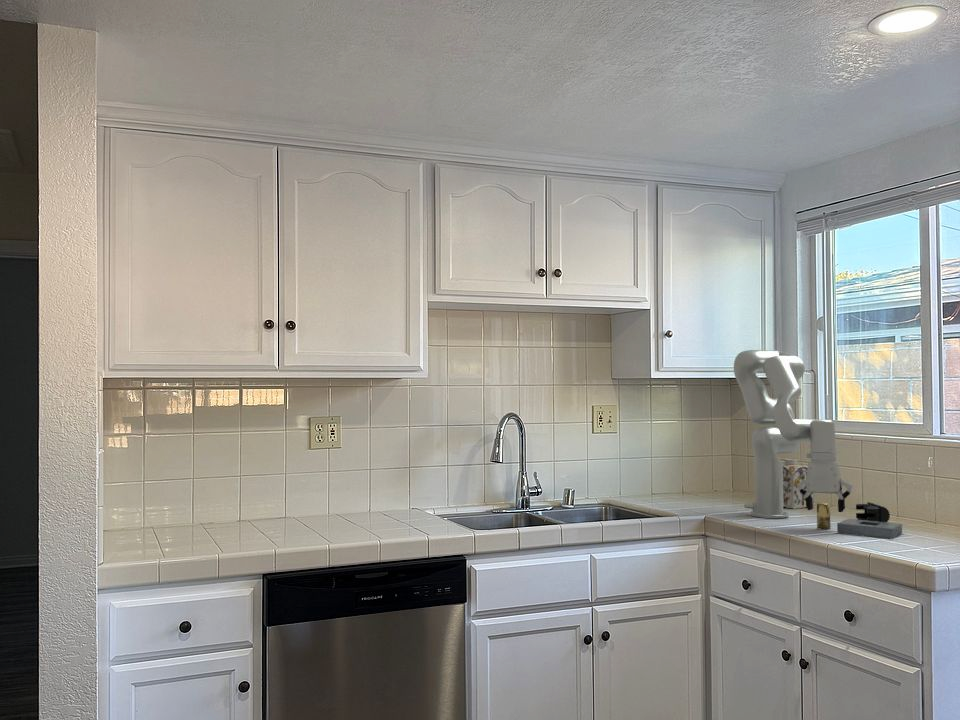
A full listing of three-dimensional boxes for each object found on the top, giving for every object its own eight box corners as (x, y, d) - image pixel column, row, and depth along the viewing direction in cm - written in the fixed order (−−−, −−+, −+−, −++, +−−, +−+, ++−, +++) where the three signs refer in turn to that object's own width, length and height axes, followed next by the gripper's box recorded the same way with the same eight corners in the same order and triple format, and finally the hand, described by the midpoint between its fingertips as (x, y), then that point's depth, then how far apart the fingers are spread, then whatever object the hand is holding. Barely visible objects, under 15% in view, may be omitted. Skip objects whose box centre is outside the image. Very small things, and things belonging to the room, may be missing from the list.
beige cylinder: (815, 528, 272) (815, 503, 272) (819, 526, 275) (819, 502, 276) (828, 529, 270) (827, 504, 270) (832, 528, 273) (831, 503, 273)
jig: (837, 532, 264) (837, 523, 264) (848, 527, 273) (848, 518, 273) (892, 538, 254) (892, 528, 254) (902, 533, 263) (902, 523, 263)
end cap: (890, 527, 276) (890, 506, 276) (868, 526, 276) (868, 506, 276) (876, 522, 286) (876, 502, 286) (855, 521, 286) (855, 501, 286)
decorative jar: (769, 505, 324) (768, 458, 325) (790, 503, 330) (790, 457, 330) (793, 509, 314) (792, 461, 314) (815, 507, 319) (814, 460, 319)
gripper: (792, 457, 275) (794, 510, 274) (847, 458, 265) (850, 513, 263) (800, 456, 281) (802, 507, 280) (854, 457, 270) (856, 511, 269)
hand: (825, 510), depth 272 cm, fingers open, 9 cm apart
